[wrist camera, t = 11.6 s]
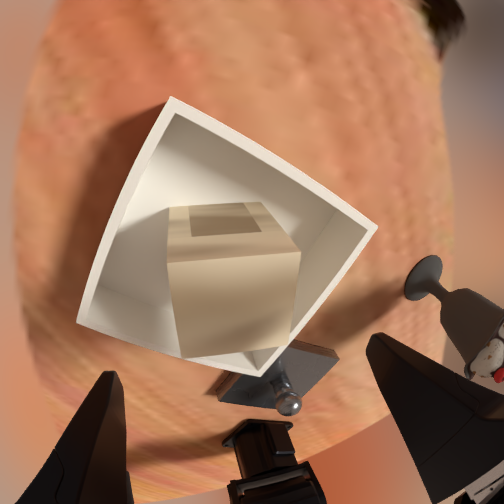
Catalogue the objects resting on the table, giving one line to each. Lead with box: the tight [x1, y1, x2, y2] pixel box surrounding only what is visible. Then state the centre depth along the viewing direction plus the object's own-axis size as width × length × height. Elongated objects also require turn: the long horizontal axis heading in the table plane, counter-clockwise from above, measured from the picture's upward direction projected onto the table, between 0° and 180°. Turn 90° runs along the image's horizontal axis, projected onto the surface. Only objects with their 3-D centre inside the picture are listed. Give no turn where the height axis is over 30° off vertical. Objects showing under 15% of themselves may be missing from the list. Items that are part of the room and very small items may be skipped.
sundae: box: [405, 255, 504, 383], centre depth 18 cm, size 7×7×15 cm
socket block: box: [167, 202, 301, 359], centre depth 14 cm, size 5×5×6 cm
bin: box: [76, 96, 378, 377], centre depth 16 cm, size 12×12×4 cm
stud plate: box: [216, 340, 340, 416], centre depth 23 cm, size 8×8×5 cm
